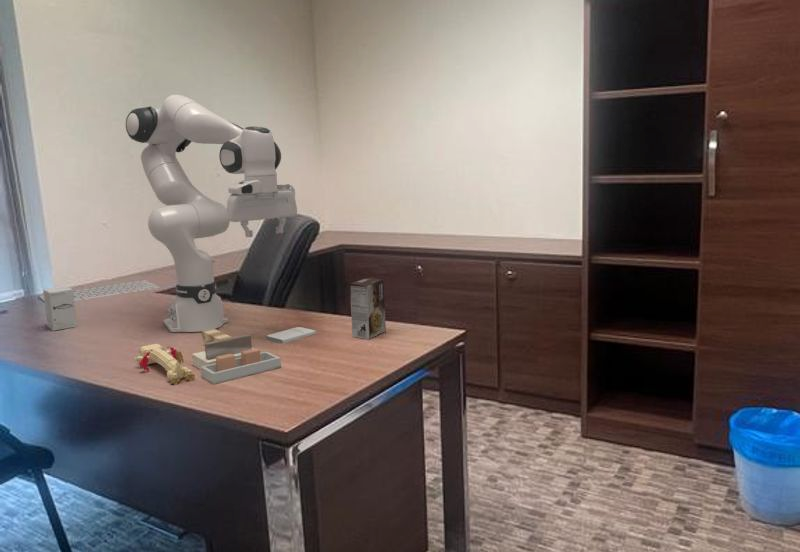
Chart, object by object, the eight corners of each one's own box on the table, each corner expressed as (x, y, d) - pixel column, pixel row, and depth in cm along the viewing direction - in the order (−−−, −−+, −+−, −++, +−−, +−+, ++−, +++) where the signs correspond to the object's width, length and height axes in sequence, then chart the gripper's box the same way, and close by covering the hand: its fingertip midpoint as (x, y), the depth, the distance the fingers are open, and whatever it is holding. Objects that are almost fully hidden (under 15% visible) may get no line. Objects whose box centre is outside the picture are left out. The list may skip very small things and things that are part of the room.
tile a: (215, 356, 170) (219, 359, 168) (230, 353, 172) (235, 355, 170) (217, 372, 170) (221, 374, 168) (232, 368, 173) (236, 371, 171)
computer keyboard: (47, 307, 257) (47, 302, 256) (37, 299, 271) (37, 295, 271) (162, 289, 282) (161, 285, 282) (147, 283, 297) (147, 279, 297)
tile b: (240, 351, 174) (245, 353, 172) (255, 348, 176) (259, 350, 174) (242, 366, 174) (246, 368, 172) (256, 363, 177) (260, 365, 175)
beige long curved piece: (203, 382, 169) (165, 353, 187) (201, 349, 166) (163, 323, 185) (163, 392, 163) (128, 361, 181) (160, 358, 160) (125, 330, 179)
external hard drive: (265, 340, 201) (298, 331, 210) (283, 345, 195) (315, 335, 204) (264, 335, 200) (297, 326, 209) (282, 339, 195) (315, 330, 204)
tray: (201, 376, 169) (200, 366, 169) (267, 360, 180) (266, 351, 179) (213, 384, 163) (212, 373, 163) (281, 367, 174) (280, 357, 174)
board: (192, 365, 178) (191, 353, 178) (242, 353, 187) (241, 343, 186) (208, 374, 171) (207, 362, 170) (259, 361, 179) (258, 350, 178)
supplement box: (53, 331, 218) (48, 292, 215) (47, 327, 223) (42, 289, 221) (77, 327, 222) (73, 288, 220) (71, 323, 228) (67, 285, 226)
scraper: (188, 348, 183) (186, 334, 182) (230, 339, 190) (228, 325, 189) (208, 360, 172) (207, 344, 171) (252, 350, 179) (250, 335, 179)
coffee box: (368, 329, 207) (366, 277, 204) (386, 332, 204) (384, 278, 201) (351, 337, 199) (348, 283, 196) (369, 339, 196) (367, 284, 193)
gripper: (288, 183, 200) (291, 230, 202) (222, 187, 188) (226, 237, 190) (299, 184, 195) (302, 232, 198) (232, 188, 183) (236, 240, 185)
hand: (264, 235), depth 194 cm, fingers open, 8 cm apart
